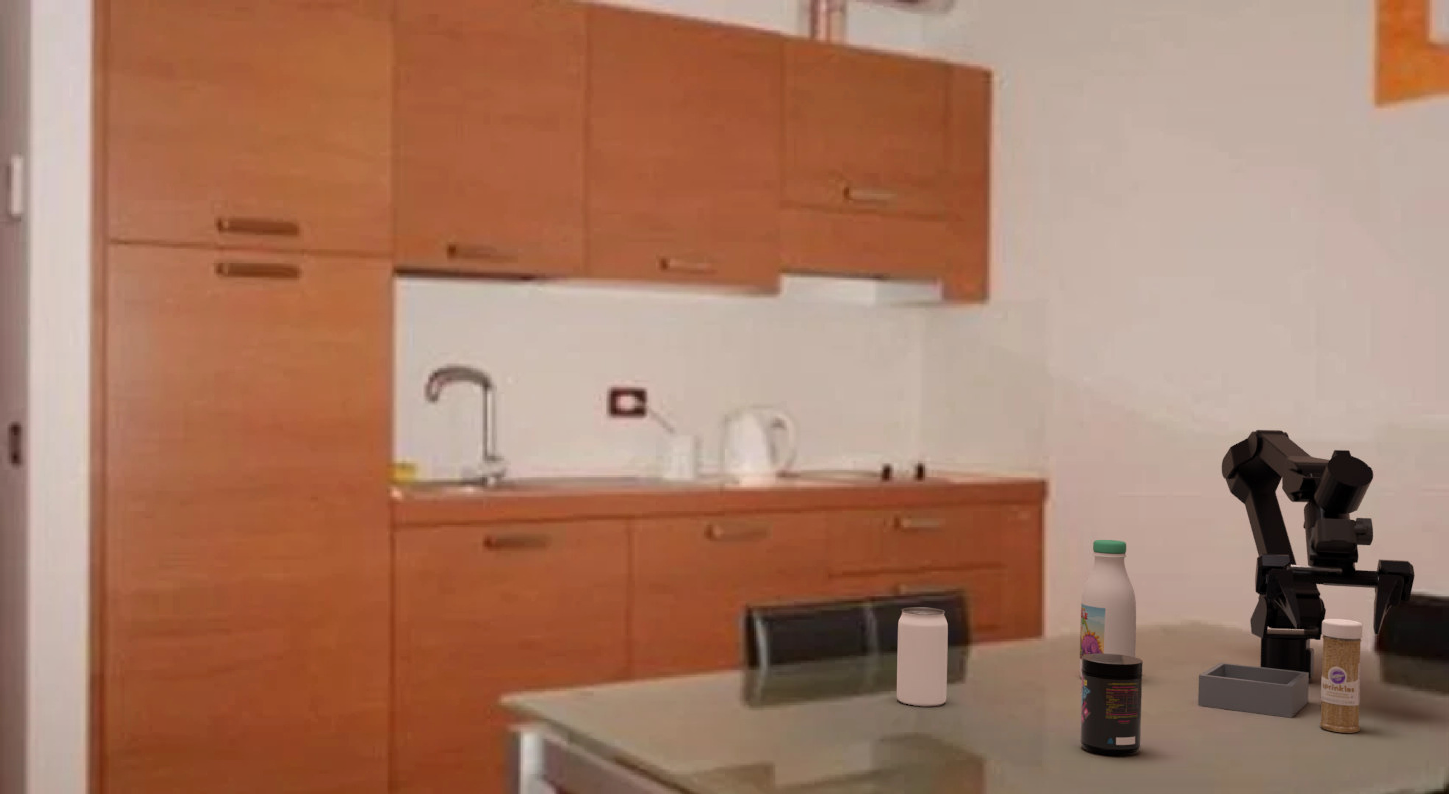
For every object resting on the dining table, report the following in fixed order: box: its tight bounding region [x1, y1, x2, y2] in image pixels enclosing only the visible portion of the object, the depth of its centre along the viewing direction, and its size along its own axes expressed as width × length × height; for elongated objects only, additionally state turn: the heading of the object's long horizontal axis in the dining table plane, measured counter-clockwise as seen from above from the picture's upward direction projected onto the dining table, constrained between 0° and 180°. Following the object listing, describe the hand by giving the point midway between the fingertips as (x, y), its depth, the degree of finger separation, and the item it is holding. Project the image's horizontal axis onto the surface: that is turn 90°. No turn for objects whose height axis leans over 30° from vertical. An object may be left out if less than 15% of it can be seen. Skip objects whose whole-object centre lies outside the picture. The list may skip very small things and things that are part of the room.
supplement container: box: [1079, 654, 1143, 757], centre depth 157 cm, size 7×7×10 cm
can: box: [896, 606, 949, 708], centre depth 181 cm, size 6×6×12 cm
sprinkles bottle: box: [1319, 618, 1363, 734], centre depth 170 cm, size 5×5×14 cm
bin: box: [1197, 661, 1310, 719], centre depth 184 cm, size 12×12×4 cm
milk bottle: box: [1079, 539, 1137, 679], centre depth 199 cm, size 8×8×20 cm
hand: (1337, 629), depth 175 cm, fingers open, 9 cm apart
